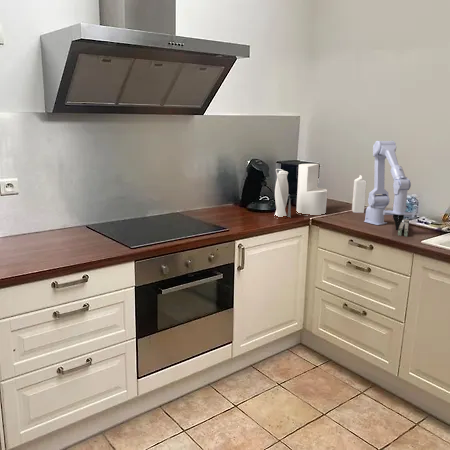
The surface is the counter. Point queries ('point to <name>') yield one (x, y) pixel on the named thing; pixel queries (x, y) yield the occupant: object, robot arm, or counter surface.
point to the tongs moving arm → (401, 228)
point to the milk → (359, 195)
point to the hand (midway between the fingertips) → (397, 229)
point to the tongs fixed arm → (406, 227)
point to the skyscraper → (282, 194)
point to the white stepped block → (310, 191)
